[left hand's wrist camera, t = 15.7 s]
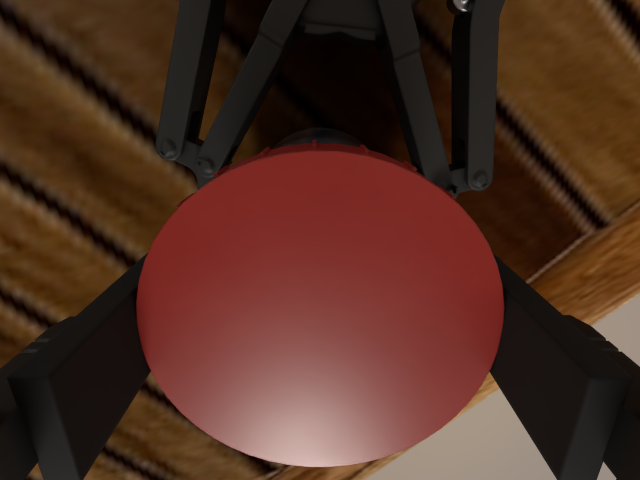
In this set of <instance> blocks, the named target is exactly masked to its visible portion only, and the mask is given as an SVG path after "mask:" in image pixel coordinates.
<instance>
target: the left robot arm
mask: <svg viewBox="0 0 640 480" xmlns="http://www.w3.org/2000/svg"><path fill="white" fill-rule="evenodd" d="M147 254H148V253H147ZM147 254H146V255H145V256H144V257H143V258H141V259H140V260H139V261H138V262H137V263H136V264H135V265H133V266H132V267H131V268H130V269H129V270H128V271H127V272H126V273H124V274H123V275H122V276H121V277H120V278H119V279H118V280H117V281H115V282H114V283H113V284H112V285H111V286H110V287H109V288H108V289H106V290H105V291H104V292H103V293H102V294H101V295H100V296H98V297H97V298H96V299H95V300H94V301H93V302H92V303H91V304H89V305H88V306H87V307H86V308H85V309H84V310H83V311H82V312H80V313H79V314H78V315H77V316H76V317H68V318H67V319H65V320H63V321H61V322H59V323H57V324H55V325H53V326H51V327H50V328H49V329H47V330H46V331H45V332H44V333H43V334H41V335H40V336H39V337H38V338H37V339H35V342H32V343H31V344H29V345H28V346H27V347H26V348H25V349H24V350H23V352H22V353H19V354H18V355H16V356H15V357H14V358H13V359H12V360H10V361H9V362H8V363H7V364H6V365H4V366H3V367H2V368H1V369H0V480H24V479H25V478H26V477H27V475H28V474H29V473H30V472H31V470H32V469H33V468H34V467H35V465H36V464H37V463H38V465H39V468H40V471H41V473H42V476H43V479H44V480H83V479H84V477H85V476H86V474H87V473H88V471H89V469H90V468H91V466H92V465H93V463H94V461H95V460H96V458H97V457H98V455H99V453H100V452H101V450H102V449H103V447H104V445H105V444H106V442H107V441H108V439H109V437H110V436H111V434H112V433H113V431H114V429H115V428H116V426H117V425H118V423H119V421H120V420H121V418H122V417H123V415H124V413H125V412H126V410H127V409H128V407H129V405H130V404H131V402H132V401H133V399H134V397H135V396H136V394H137V393H138V391H139V389H140V388H141V386H142V385H143V383H144V381H145V380H146V378H147V377H148V375H149V373H150V372H151V370H150V368H149V366H148V364H147V361H146V358H145V355H144V352H143V349H142V345H141V341H140V336H139V330H138V325H137V314H136V299H137V291H138V284H139V278H140V275H141V271H142V268H143V265H144V261H145V258H146V256H147ZM493 256H494V258H495V260H496V263H497V266H498V270H499V274H500V278H501V282H502V286H503V297H504V321H503V328H502V333H501V337H500V342H499V347H498V351H497V354H496V357H495V359H494V362H493V364H492V367H491V369H490V373H491V375H492V376H493V378H494V379H495V381H496V383H497V384H498V386H499V387H500V389H501V391H502V392H503V394H504V395H505V397H506V399H507V400H508V402H509V403H510V405H511V407H512V408H513V410H514V411H515V413H516V415H517V416H518V418H519V419H520V421H521V423H522V424H523V426H524V427H525V429H526V431H527V432H528V434H529V435H530V437H531V438H532V440H533V442H534V443H535V445H536V447H537V448H538V450H539V451H540V453H541V455H542V456H543V458H544V459H545V461H546V462H547V464H548V466H549V467H550V469H551V471H552V472H553V474H554V475H555V477H556V479H557V480H597V477H598V474H599V472H600V469H601V466H602V463H603V461H604V463H605V464H606V465H607V467H608V468H609V469H610V470H611V472H612V473H613V474H614V475H615V477H616V478H617V479H616V480H640V367H639V366H638V365H637V364H636V363H634V362H633V361H632V360H631V359H630V358H629V357H627V356H626V355H625V354H624V353H622V352H619V351H618V348H617V347H615V346H614V345H613V344H612V343H610V342H609V341H606V339H605V338H604V337H603V336H602V335H601V334H600V333H599V332H597V331H596V330H595V329H594V328H593V327H591V326H590V325H588V324H586V323H584V322H582V321H580V320H578V319H577V318H575V317H573V316H571V315H562V314H561V313H560V312H559V311H558V310H556V309H555V308H554V307H553V306H552V305H551V304H550V303H549V302H547V301H546V300H545V299H544V298H543V297H542V296H541V295H540V294H538V293H537V292H536V291H535V290H534V289H533V288H532V287H530V286H529V285H528V284H527V283H526V282H525V281H524V280H523V279H521V278H520V277H519V276H518V275H517V274H516V273H515V272H514V271H512V270H511V269H510V268H509V267H508V266H507V265H506V264H505V263H503V262H502V261H501V260H500V259H499V258H498V257H497V256H495V255H494V254H493Z"/></svg>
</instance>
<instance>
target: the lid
mask: <svg viewBox="0 0 640 480" xmlns="http://www.w3.org/2000/svg"><path fill="white" fill-rule="evenodd" d="M416 170H417V168H415V167H414V166H412V165H411V164H410V163H408V162H407V161H405V160H404V161H403V163H402V162H400V161H397V160H395V159H393V158H391V157H388V156H386V155H384V154H381V153H378V152H375V151H371V150H368V149H367V148H366V147H365V146H364V145H362V144H360V147H356V146H349V145H343V144H336V143H317V140H313V141H312V143H306V144H298V145H290V146H284V147H280V148H276V149H273V150H270V147H267V148H265V149H264V150H263V151H262V152H261V153H259V154H257V155H255V156H252V157H250V158H247V159H245V160H242V161H240V162H239V163H237V164H235V165H234V166H232V167H230V168H229V167H228V166H225V167H224V168H222V169H221V170H219V171H218V172H216V173H215V174H214V177H215V178H213V179H212V180H211V181H209V182H208V183H207V184H205V185H204V186H203V187H201V188H200V189H199V190H198V191H196V192H195V193H193V194H191V195H190V196H188V197H187V198H186V199H184V200H183V201H182V202H180V203H179V204H178V205H177V206H178V207H179V208H178V209H177V210H176V211H175V212H174V213H173V214H172V215H171V216H170V217H169V218H168V220H167V221H166V223H165V224H164V226H163V227H162V229H161V230H160V232H159V233H158V235H157V236H156V237H155V239H154V241H153V243H152V246H151V248H150V250H149V252H148V254H147V256H146V258H145V261H144V265H143V268H142V271H141V275H140V278H139V284H138V291H137V299H136V314H137V325H138V330H139V336H140V341H141V345H142V349H143V352H144V355H145V358H146V361H147V364H148V366H149V368H150V370H151V372H152V374H153V376H154V378H155V380H156V381H157V383H158V384H159V386H160V387H161V389H162V390H163V392H164V393H165V394H166V396H167V397H168V398H169V400H170V401H171V402H172V403H173V404H174V405H175V406H176V408H177V409H178V410H179V411H180V412H181V413H182V414H183V415H184V416H186V417H187V418H188V419H189V420H190V421H191V422H192V423H193V424H195V425H196V426H197V427H199V428H200V429H201V430H203V431H204V432H206V433H207V434H208V435H210V436H211V437H213V438H215V439H217V440H218V441H220V442H222V443H224V444H226V445H227V446H229V447H231V448H234V449H236V450H239V451H241V452H243V453H246V454H248V455H251V456H254V457H258V458H261V459H264V460H267V461H272V462H277V463H282V464H287V465H295V466H305V467H334V466H346V465H353V464H358V463H364V462H369V461H372V460H376V459H380V458H383V457H387V456H389V455H392V454H394V453H397V452H400V451H402V450H405V449H407V448H409V447H411V446H413V445H415V444H417V443H419V442H420V441H422V440H424V439H426V438H427V437H429V436H430V435H432V434H433V433H435V432H436V431H438V430H439V429H441V428H442V427H443V426H444V425H446V424H447V423H448V422H449V421H450V420H452V419H453V418H454V417H455V416H456V415H457V414H458V413H459V412H460V411H461V410H462V409H463V408H464V407H465V406H466V405H467V404H468V403H469V402H470V400H471V399H472V398H473V396H474V395H475V394H476V392H477V391H478V389H479V388H480V387H481V385H482V384H483V382H484V380H485V378H486V376H487V374H488V373H489V371H490V369H491V367H492V364H493V362H494V359H495V357H496V354H497V351H498V347H499V342H500V337H501V333H502V328H503V321H504V297H503V286H502V282H501V278H500V274H499V270H498V266H497V263H496V260H495V258H494V256H493V253H492V251H491V249H490V246H489V244H488V242H487V241H486V239H485V237H484V236H483V233H482V231H481V230H480V229H479V228H478V226H477V225H476V223H475V222H474V221H473V220H472V218H471V217H470V216H469V215H468V214H467V213H466V212H465V210H464V209H463V208H462V207H461V206H460V205H459V204H458V203H457V202H456V201H455V199H456V197H455V196H454V195H452V194H451V193H449V192H448V191H447V190H445V189H444V188H442V187H441V186H440V187H438V186H437V185H435V184H434V183H433V182H431V181H430V180H428V179H427V178H426V177H424V176H423V175H421V174H420V173H418V172H417V171H416Z"/></svg>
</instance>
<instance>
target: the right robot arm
mask: <svg viewBox="0 0 640 480" xmlns="http://www.w3.org/2000/svg"><path fill="white" fill-rule="evenodd" d="M419 1H420V0H272V2H271V4H270V6H269V8H268V10H267V12H266V14H265V16H264V18H263V20H262V22H261V24H260V27H259V30H258V35H257V37H256V39H255V41H254V43H253V45H252V47H251V49H250V51H249V53H248V55H247V57H246V59H245V61H244V63H243V65H242V67H241V69H240V71H239V73H238V75H237V77H236V79H235V81H234V83H233V85H232V87H231V89H230V91H229V93H228V95H227V97H226V99H225V101H224V103H223V105H222V107H221V109H220V111H219V113H218V115H217V117H216V119H215V121H214V123H213V125H212V127H211V129H210V131H209V133H208V135H207V137H206V139H205V141H203V140H201V139H198V138H199V133H200V128H201V123H202V119H203V114H204V109H205V104H206V100H207V95H208V90H209V85H210V81H211V76H212V71H213V66H214V62H215V57H216V52H217V47H218V43H219V38H220V33H221V28H222V24H223V19H224V13H225V7H226V0H180V6H179V12H178V18H177V23H176V29H175V35H174V41H173V47H172V52H171V58H170V64H169V70H168V76H167V81H166V87H165V93H164V99H163V104H162V110H161V116H160V122H159V128H158V133H157V139H156V150H157V153H158V154H159V155H160V156H161V158H163V159H165V160H170V161H172V160H174V161H176V162H179V163H181V164H183V165H185V166H187V167H189V168H190V169H191V170H193V172H194V173H195V174H196V177H197V182H198V190H199V189H200V188H201V187H203V186H204V185H205V184H207V183H208V182H209V181H211V180H212V179H213V178H215V177H214V174H215V173H216V172H218V171H219V170H221V169H222V168H224V167H225V166H229V165H230V164H231V163H232V161H231V160H232V158H233V157H234V155H235V153H236V151H237V149H238V147H239V145H240V144H241V142H242V140H243V138H244V136H245V134H246V132H247V130H248V129H249V127H250V125H251V123H252V121H253V119H254V117H255V116H256V114H257V112H258V110H259V108H260V106H261V104H262V103H263V101H264V99H265V97H266V95H267V93H268V91H269V89H270V88H271V86H272V84H273V82H274V80H275V78H276V76H277V75H278V73H279V71H280V69H281V67H282V65H283V63H284V62H285V60H286V58H287V57H288V55H289V54H290V53H291V51H292V49H293V47H294V46H295V44H296V42H297V40H298V38H299V36H300V35H301V36H304V37H305V38H306V40H312V41H327V40H332V39H341V40H343V41H346V42H348V43H350V44H353V45H358V46H367V47H370V46H371V45H372V44H376V48H377V51H378V54H379V58H380V61H381V63H382V65H383V67H384V69H385V72H386V76H387V79H388V83H389V86H390V89H391V93H392V96H393V100H394V103H395V107H396V110H397V114H398V117H399V120H400V124H401V127H402V131H403V134H404V138H405V141H406V144H407V148H408V151H409V155H410V158H411V162H412V165H413V166H414V167H415V168H417V170H416V171H417V172H418V173H420V174H421V175H423V176H424V177H426V178H427V179H428V180H430V181H431V182H433V183H434V184H435V185H437V186H438V187H440V186H441V187H442V188H444V189H445V190H447V191H448V192H449V193H451V194H452V195H454V196H455V197H456V198H457V196H458V193H460V192H465V191H469V190H475V191H481V190H484V189H486V188H487V187H489V185H490V184H491V182H492V179H493V161H494V135H495V109H496V84H497V58H498V32H499V16H500V13H501V10H502V7H503V4H504V1H505V0H447V1H446V4H447V8H448V10H449V11H450V12H451V13H452V14H454V15H455V18H454V23H453V30H452V164H450V165H448V161H447V157H446V154H445V150H444V146H443V142H442V138H441V134H440V130H439V126H438V122H437V119H436V115H435V111H434V107H433V103H432V99H431V95H430V91H429V87H428V84H427V80H426V76H425V72H424V68H423V64H422V60H421V56H420V40H419V35H418V31H417V28H416V24H415V20H414V16H413V12H412V9H413V8H414V7H415V6H416V5H417V3H418V2H419Z"/></svg>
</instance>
